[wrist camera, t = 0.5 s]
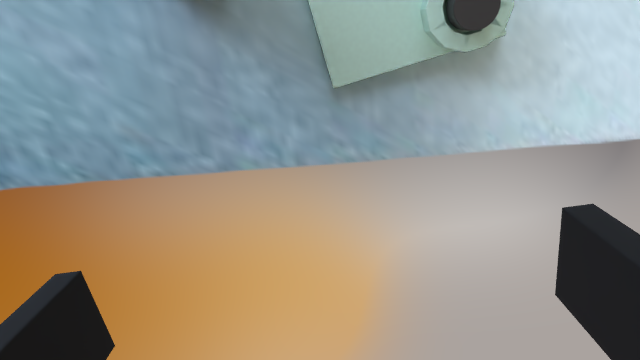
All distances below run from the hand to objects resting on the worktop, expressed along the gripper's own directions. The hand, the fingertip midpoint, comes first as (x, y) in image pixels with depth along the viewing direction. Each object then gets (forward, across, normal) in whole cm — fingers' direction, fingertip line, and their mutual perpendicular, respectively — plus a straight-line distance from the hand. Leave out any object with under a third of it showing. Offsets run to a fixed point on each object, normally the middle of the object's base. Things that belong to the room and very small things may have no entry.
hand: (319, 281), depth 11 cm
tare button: (+22, +12, +6) cm, 25 cm away
